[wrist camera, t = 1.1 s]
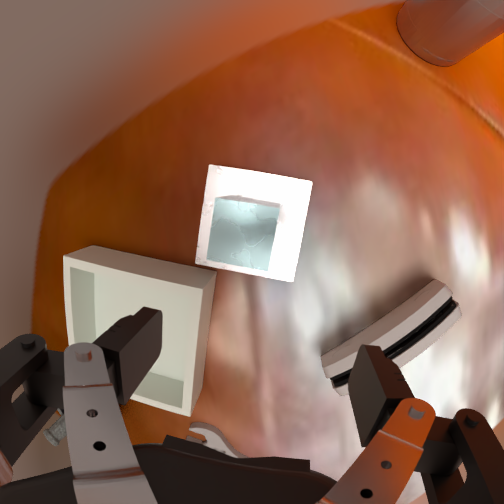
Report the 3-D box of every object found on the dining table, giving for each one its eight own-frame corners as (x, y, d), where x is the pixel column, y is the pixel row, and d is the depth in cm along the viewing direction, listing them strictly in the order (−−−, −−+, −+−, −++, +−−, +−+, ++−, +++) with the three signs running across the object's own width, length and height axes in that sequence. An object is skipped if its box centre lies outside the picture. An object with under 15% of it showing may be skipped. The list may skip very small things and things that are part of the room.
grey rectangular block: (231, 194, 29) (215, 197, 22) (280, 203, 29) (279, 208, 22) (223, 243, 30) (206, 259, 24) (271, 252, 30) (268, 271, 23)
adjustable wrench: (316, 486, 40) (316, 493, 39) (288, 498, 42) (288, 505, 40) (203, 416, 38) (200, 424, 37) (177, 432, 40) (174, 440, 38)
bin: (92, 245, 34) (63, 255, 28) (216, 271, 33) (202, 289, 27) (95, 354, 38) (73, 375, 32) (202, 387, 37) (190, 416, 31)
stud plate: (213, 165, 31) (195, 160, 24) (310, 182, 30) (318, 180, 24) (200, 258, 33) (180, 276, 26) (292, 276, 32) (294, 299, 26)
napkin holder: (339, 383, 35) (335, 417, 25) (320, 353, 36) (310, 379, 26) (450, 309, 31) (482, 319, 22) (432, 277, 32) (461, 277, 23)
